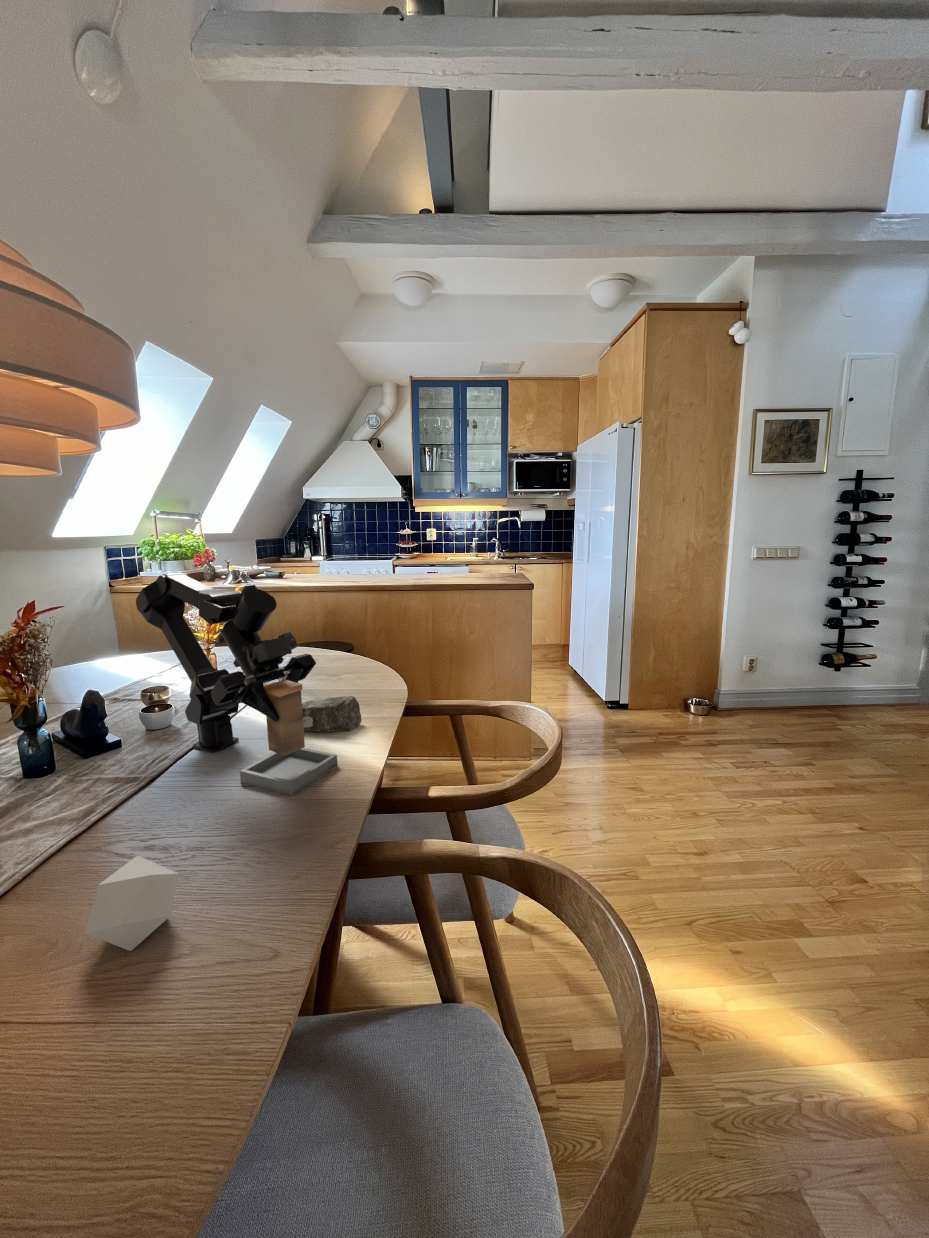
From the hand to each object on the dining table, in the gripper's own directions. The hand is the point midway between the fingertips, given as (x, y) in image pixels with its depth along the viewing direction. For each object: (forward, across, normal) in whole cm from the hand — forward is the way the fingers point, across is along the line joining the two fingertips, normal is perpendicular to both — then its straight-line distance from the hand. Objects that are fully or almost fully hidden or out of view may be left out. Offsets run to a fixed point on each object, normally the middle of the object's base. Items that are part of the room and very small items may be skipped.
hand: (289, 715), depth 92 cm
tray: (+7, 0, +9) cm, 12 cm away
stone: (0, +19, +18) cm, 26 cm away
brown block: (+4, 0, +6) cm, 7 cm away
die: (+20, -33, -3) cm, 38 cm away
